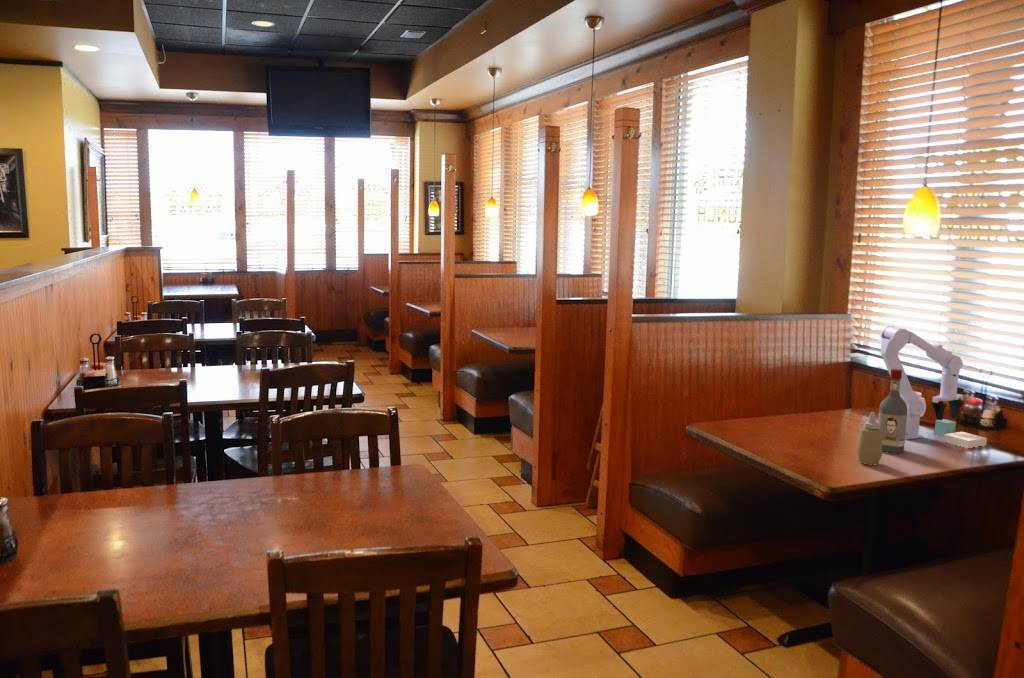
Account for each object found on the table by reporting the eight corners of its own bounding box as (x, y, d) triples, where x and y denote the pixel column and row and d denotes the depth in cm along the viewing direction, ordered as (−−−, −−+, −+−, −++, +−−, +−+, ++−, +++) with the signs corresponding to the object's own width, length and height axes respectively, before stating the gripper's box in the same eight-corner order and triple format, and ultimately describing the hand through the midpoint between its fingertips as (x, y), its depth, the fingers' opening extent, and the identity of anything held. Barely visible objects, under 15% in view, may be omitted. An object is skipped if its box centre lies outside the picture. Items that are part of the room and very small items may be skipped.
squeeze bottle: (884, 463, 278) (889, 412, 275) (877, 468, 272) (881, 416, 269) (860, 458, 283) (864, 408, 280) (852, 463, 277) (856, 412, 274)
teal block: (945, 438, 311) (946, 423, 310) (934, 435, 315) (935, 420, 315) (954, 437, 313) (955, 422, 312) (943, 433, 317) (944, 419, 317)
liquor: (877, 445, 299) (883, 366, 295) (904, 449, 295) (910, 369, 291) (875, 451, 291) (881, 370, 287) (903, 455, 287) (910, 373, 283)
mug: (897, 419, 340) (900, 391, 338) (908, 418, 342) (911, 390, 340) (918, 425, 330) (921, 396, 329) (929, 423, 333) (932, 395, 331)
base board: (967, 448, 296) (968, 440, 296) (943, 441, 306) (944, 434, 305) (985, 445, 300) (986, 438, 300) (961, 439, 309) (962, 431, 309)
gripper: (945, 388, 305) (942, 423, 307) (971, 385, 310) (968, 419, 312) (928, 384, 311) (926, 418, 313) (955, 381, 317) (952, 415, 319)
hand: (946, 418), depth 313 cm, fingers open, 7 cm apart
